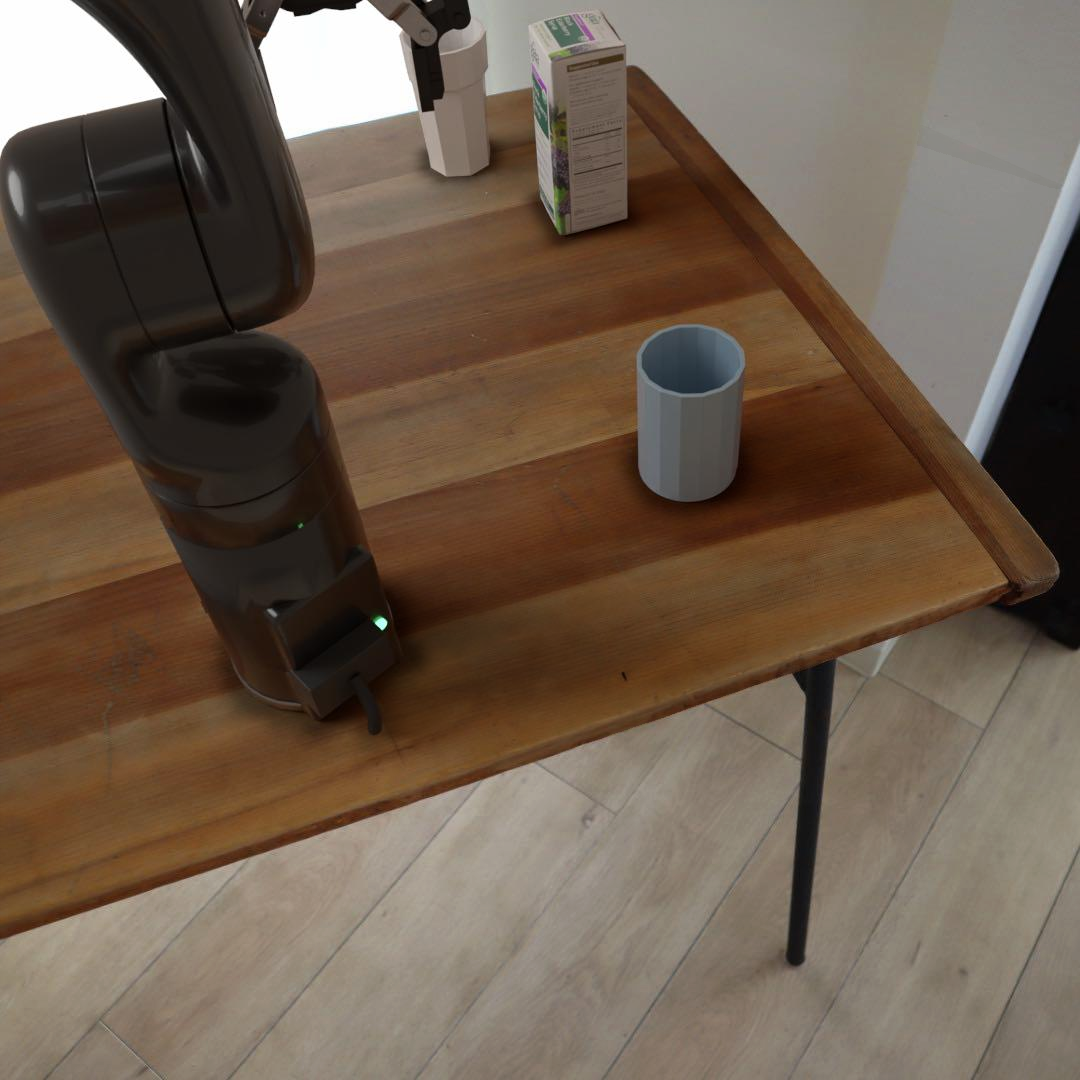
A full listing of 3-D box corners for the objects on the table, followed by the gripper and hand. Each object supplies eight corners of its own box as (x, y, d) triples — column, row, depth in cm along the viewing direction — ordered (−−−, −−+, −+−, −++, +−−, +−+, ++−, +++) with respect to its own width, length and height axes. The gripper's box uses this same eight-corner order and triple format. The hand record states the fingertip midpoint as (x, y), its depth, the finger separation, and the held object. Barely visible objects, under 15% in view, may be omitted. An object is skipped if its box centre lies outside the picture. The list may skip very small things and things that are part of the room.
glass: (757, 464, 74) (767, 357, 68) (689, 518, 72) (693, 413, 65) (685, 416, 78) (688, 309, 71) (618, 466, 75) (614, 361, 68)
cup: (411, 149, 100) (389, 24, 92) (485, 129, 101) (469, 3, 93) (435, 190, 96) (413, 63, 88) (510, 169, 97) (497, 41, 89)
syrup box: (538, 198, 94) (522, 22, 83) (607, 180, 95) (601, 4, 84) (560, 238, 91) (546, 60, 80) (632, 219, 92) (629, 41, 80)
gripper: (101, -173, 49) (214, 171, 61) (443, -218, 49) (486, 134, 61) (121, -234, 53) (222, 97, 66) (432, -274, 54) (474, 63, 66)
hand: (349, 114), depth 64 cm, fingers open, 8 cm apart
